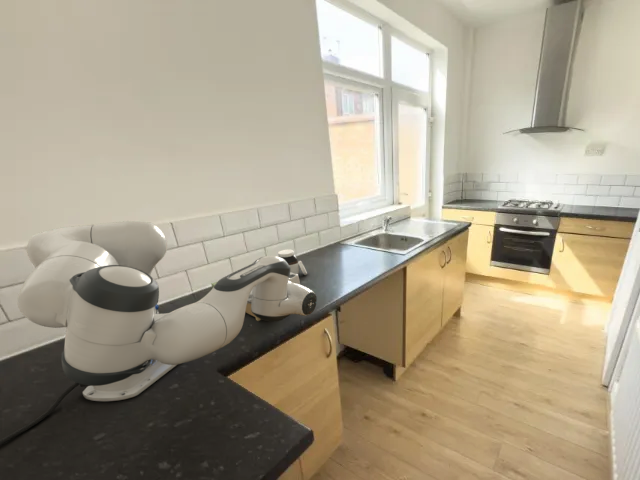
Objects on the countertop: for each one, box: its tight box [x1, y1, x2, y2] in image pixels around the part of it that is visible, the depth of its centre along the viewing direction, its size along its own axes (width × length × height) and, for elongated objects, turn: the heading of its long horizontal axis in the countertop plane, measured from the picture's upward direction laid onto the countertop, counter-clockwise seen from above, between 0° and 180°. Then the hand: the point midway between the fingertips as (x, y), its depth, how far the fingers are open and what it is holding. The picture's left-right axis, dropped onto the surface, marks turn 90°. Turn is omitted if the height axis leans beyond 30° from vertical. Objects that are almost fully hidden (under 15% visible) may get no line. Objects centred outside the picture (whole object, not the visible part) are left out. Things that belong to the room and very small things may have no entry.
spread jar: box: [277, 249, 308, 276], centre depth 144 cm, size 12×11×12 cm
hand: (254, 281), depth 111 cm, fingers closed on syrup box, 6 cm apart
